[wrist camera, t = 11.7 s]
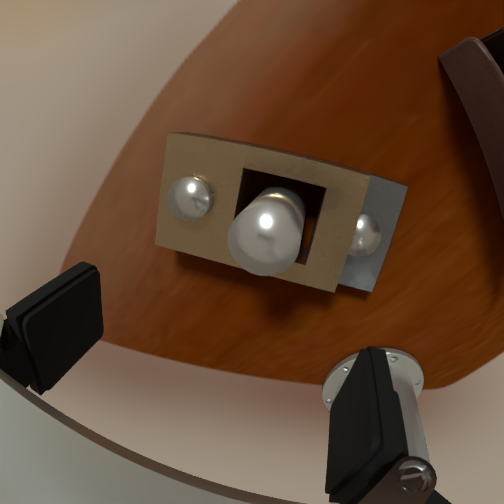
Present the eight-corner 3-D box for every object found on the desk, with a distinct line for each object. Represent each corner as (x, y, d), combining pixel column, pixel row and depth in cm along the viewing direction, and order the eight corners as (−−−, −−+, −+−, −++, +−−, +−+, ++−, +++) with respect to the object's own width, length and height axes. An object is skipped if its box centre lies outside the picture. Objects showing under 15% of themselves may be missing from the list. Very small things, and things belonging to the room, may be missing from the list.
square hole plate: (401, 183, 25) (418, 193, 20) (368, 282, 29) (376, 308, 24) (187, 132, 27) (162, 132, 22) (173, 231, 31) (149, 248, 26)
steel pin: (300, 235, 28) (290, 283, 19) (253, 223, 29) (222, 265, 20) (311, 189, 27) (307, 217, 18) (263, 177, 27) (234, 198, 18)
